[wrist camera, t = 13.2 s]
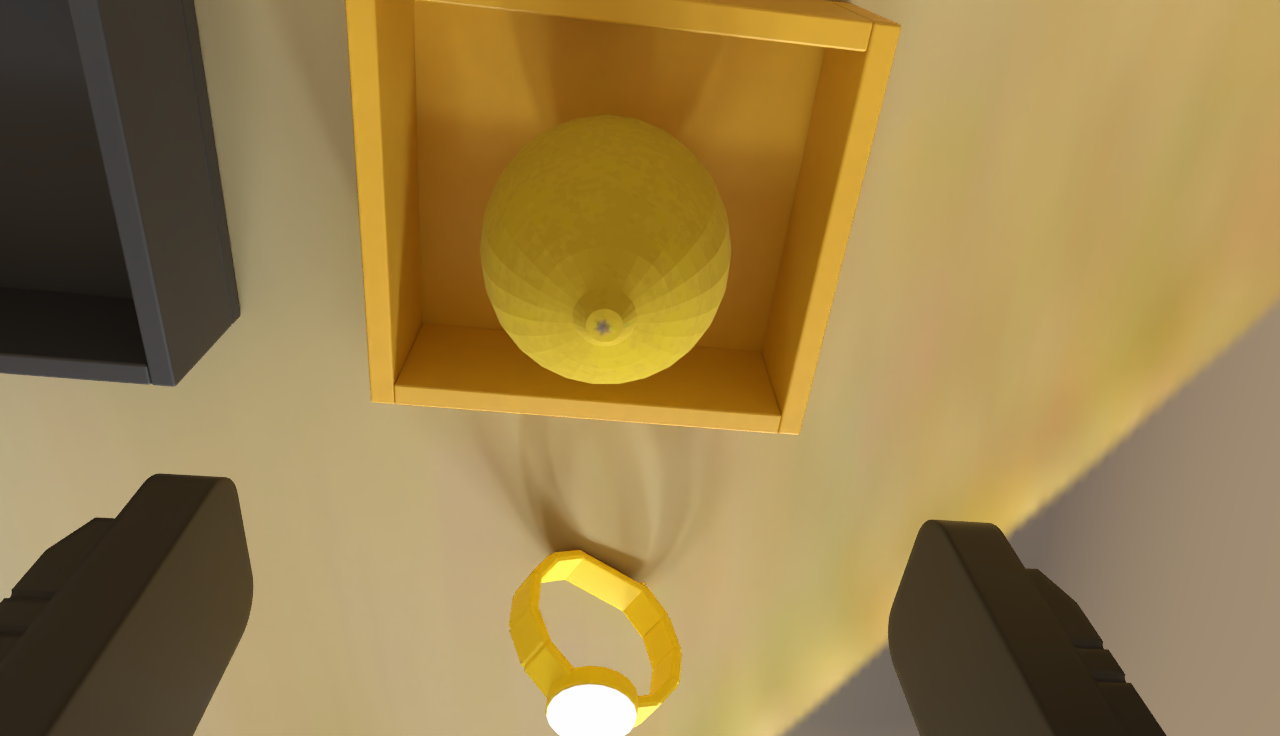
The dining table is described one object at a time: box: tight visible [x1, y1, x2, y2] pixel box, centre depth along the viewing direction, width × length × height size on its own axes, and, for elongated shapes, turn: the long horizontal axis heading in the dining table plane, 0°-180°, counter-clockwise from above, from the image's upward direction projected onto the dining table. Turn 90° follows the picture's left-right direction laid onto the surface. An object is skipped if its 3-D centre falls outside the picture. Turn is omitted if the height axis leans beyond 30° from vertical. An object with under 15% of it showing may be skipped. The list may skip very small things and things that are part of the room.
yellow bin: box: [345, 0, 901, 435], centre depth 20 cm, size 11×10×4 cm
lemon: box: [480, 114, 731, 384], centre depth 18 cm, size 6×6×8 cm
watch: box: [509, 550, 682, 736], centre depth 27 cm, size 6×3×6 cm, turn 55°
